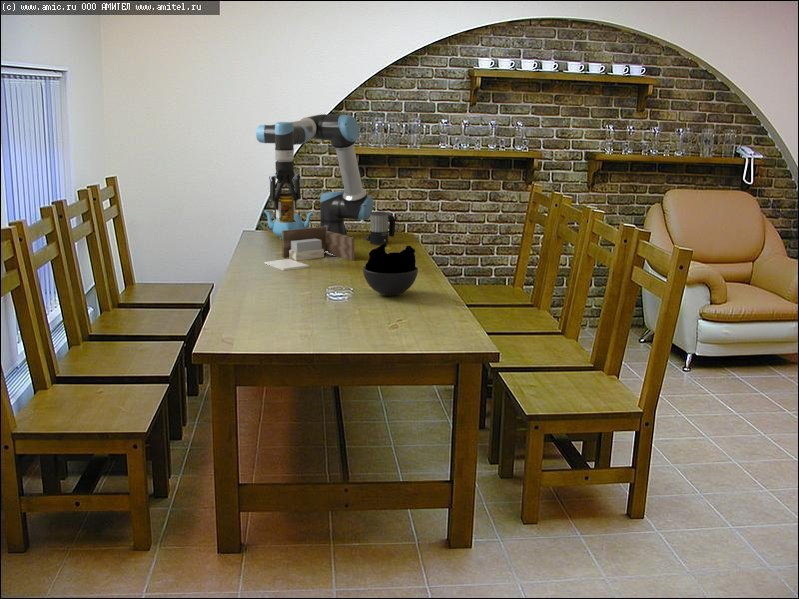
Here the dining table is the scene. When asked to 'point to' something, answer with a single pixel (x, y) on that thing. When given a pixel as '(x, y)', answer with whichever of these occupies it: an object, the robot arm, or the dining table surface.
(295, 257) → the block
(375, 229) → the milk frother
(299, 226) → the teapot
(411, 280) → the bowl of black rocks
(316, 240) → the offcut top
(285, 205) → the condiment
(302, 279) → the dining table surface
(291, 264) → the pad
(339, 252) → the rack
